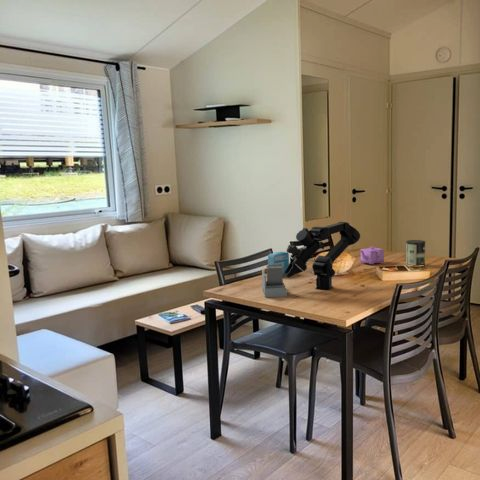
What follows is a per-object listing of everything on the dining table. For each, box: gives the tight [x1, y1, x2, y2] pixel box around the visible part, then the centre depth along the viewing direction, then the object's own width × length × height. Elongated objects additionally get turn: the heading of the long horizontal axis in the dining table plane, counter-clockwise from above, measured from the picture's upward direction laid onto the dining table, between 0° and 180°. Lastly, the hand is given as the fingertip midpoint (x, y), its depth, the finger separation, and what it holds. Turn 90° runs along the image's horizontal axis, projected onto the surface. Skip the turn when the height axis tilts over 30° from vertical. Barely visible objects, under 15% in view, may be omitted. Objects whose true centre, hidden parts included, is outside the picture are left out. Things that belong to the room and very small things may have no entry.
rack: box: [261, 267, 288, 298], centre depth 241 cm, size 10×16×12 cm, turn 1°
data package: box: [267, 251, 290, 276], centre depth 281 cm, size 12×4×12 cm, turn 133°
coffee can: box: [405, 239, 426, 266], centre depth 291 cm, size 10×10×14 cm
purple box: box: [359, 245, 385, 265], centre depth 303 cm, size 18×14×10 cm
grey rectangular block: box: [266, 264, 284, 286], centre depth 241 cm, size 7×3×12 cm, turn 92°
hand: (286, 274), depth 241 cm, fingers open, 9 cm apart
